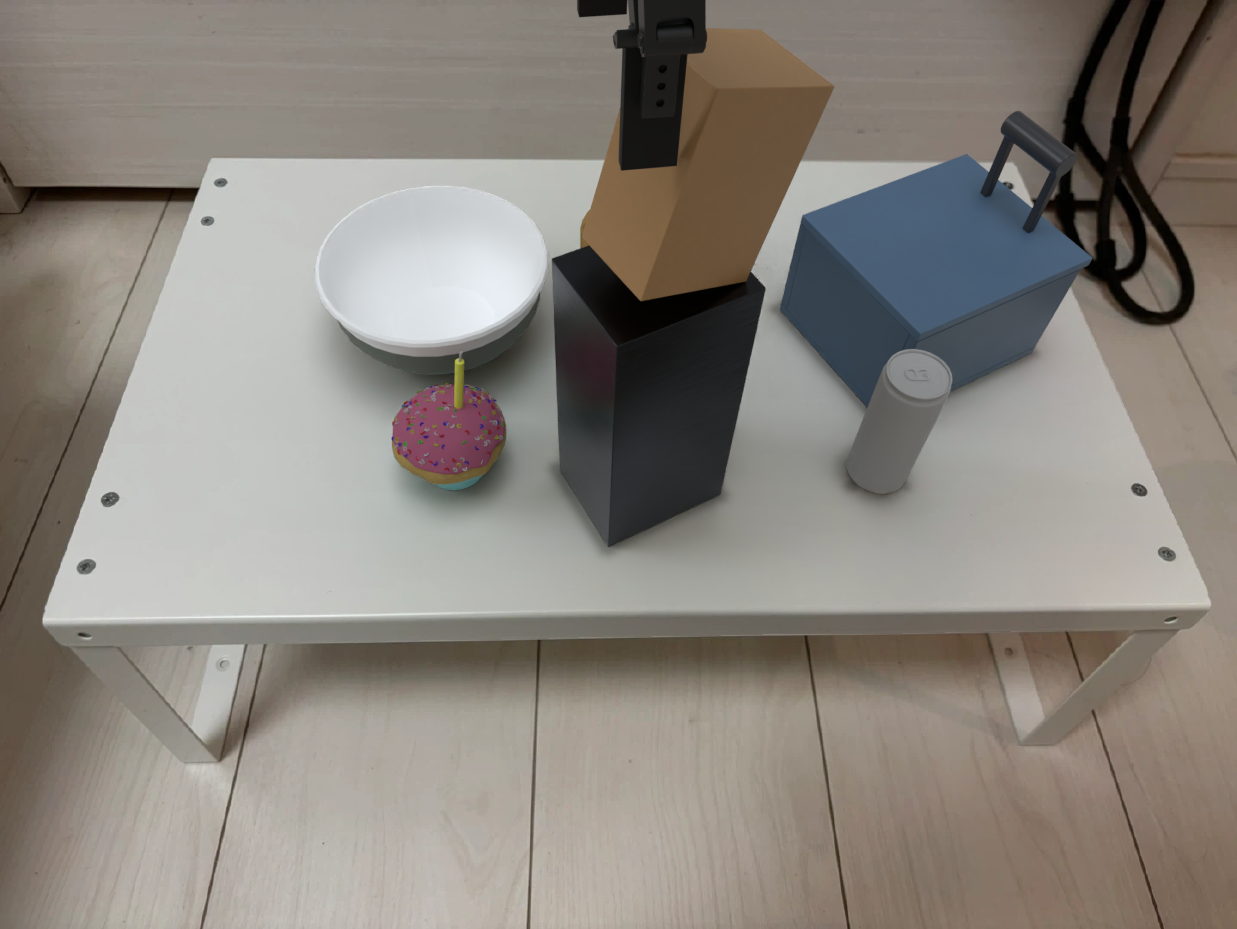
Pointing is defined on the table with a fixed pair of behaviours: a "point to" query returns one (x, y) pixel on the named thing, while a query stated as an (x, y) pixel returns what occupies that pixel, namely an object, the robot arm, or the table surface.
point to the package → (711, 170)
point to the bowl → (433, 277)
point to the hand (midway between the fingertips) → (622, 82)
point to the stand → (646, 391)
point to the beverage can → (898, 420)
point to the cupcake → (449, 433)
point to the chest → (870, 335)
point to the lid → (953, 235)
